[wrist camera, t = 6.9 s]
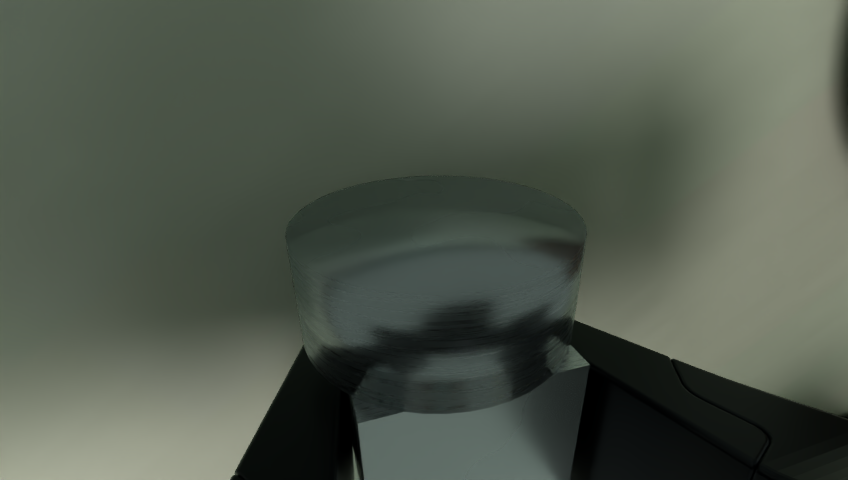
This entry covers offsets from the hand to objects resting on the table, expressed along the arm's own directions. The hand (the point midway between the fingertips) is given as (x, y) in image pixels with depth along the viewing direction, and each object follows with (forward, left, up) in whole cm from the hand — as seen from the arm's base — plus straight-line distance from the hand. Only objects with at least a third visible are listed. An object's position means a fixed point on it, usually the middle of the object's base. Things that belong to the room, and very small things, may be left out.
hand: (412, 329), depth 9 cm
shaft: (0, +14, -1) cm, 14 cm away
